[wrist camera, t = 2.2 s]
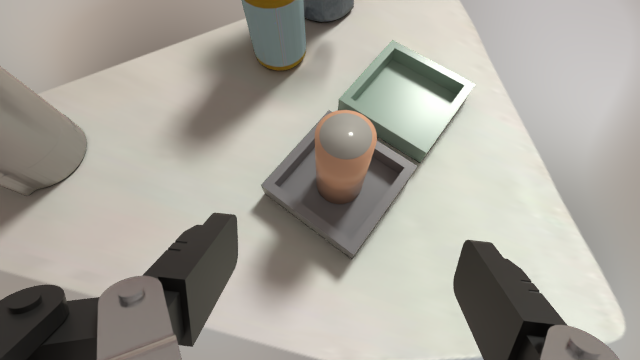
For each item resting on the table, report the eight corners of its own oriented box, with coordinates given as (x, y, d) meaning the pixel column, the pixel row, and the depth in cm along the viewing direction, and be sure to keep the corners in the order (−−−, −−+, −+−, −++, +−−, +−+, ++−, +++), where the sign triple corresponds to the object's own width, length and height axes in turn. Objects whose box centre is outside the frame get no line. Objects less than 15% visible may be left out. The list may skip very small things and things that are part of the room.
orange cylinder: (344, 213, 34) (353, 175, 25) (306, 186, 35) (301, 140, 26) (371, 178, 35) (389, 130, 26) (334, 153, 37) (338, 99, 27)
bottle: (312, 66, 43) (308, -52, 29) (262, 78, 42) (233, -37, 28) (298, 30, 45) (288, -93, 32) (251, 41, 44) (219, -81, 31)
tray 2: (351, 259, 32) (353, 254, 30) (264, 193, 35) (260, 185, 33) (411, 175, 36) (417, 165, 34) (328, 122, 39) (328, 110, 37)
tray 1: (420, 163, 37) (426, 153, 35) (337, 111, 40) (338, 99, 37) (467, 97, 41) (475, 84, 38) (388, 54, 43) (392, 40, 41)
